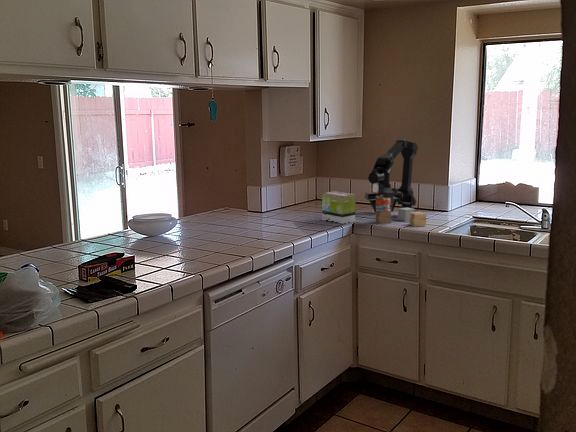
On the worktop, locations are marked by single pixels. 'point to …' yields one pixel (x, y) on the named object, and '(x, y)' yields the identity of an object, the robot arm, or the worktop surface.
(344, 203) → the tea box
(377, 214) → the walnut block
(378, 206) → the fruit juice
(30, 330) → the worktop surface
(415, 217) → the oak block
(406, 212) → the grey block
